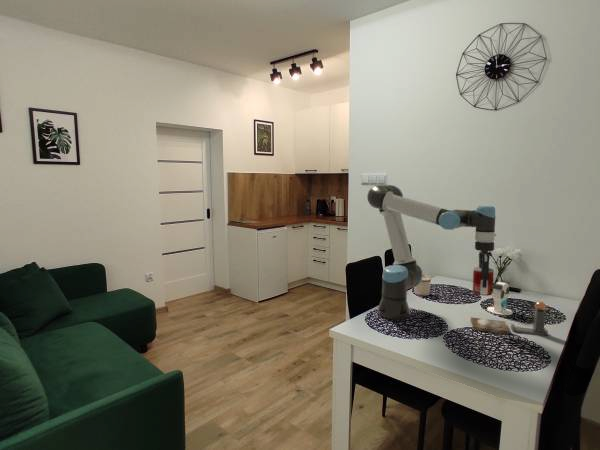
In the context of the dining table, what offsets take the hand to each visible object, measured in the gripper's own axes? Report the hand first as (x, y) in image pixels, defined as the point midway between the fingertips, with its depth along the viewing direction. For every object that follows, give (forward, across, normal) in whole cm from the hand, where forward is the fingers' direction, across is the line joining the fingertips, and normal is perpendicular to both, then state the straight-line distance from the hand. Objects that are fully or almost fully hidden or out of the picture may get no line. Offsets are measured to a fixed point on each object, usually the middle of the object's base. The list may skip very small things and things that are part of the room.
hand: (482, 291), depth 164 cm
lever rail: (+17, +1, -19) cm, 25 cm away
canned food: (+1, 0, 0) cm, 1 cm away
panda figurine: (+16, +26, -11) cm, 32 cm away
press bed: (+16, +1, -3) cm, 17 cm away
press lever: (+15, +1, -22) cm, 27 cm away
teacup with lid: (+15, +43, +28) cm, 54 cm away
